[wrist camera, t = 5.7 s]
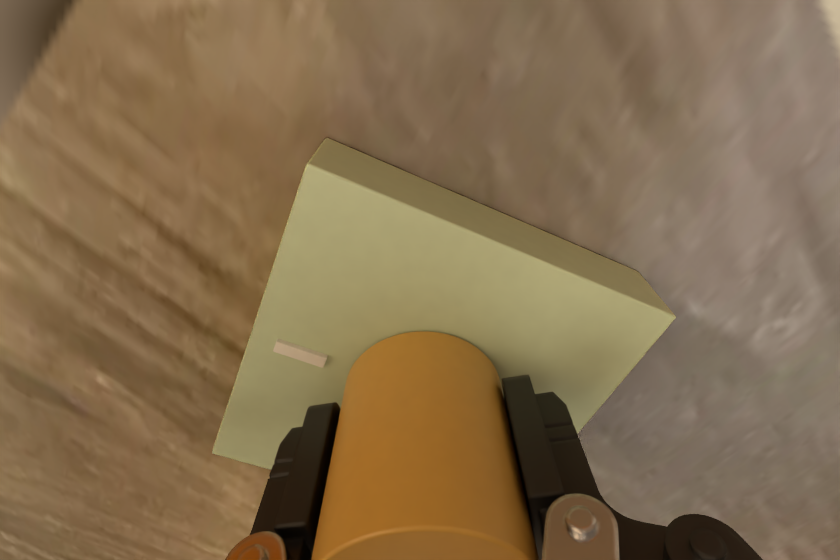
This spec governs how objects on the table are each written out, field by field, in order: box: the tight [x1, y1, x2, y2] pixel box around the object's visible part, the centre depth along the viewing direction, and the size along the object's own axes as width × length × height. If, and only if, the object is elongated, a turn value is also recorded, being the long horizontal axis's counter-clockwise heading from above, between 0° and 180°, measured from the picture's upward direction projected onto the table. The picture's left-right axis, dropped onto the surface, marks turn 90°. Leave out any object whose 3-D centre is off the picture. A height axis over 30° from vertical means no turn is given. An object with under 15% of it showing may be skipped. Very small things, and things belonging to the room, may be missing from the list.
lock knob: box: [311, 331, 539, 560], centre depth 11 cm, size 4×4×6 cm
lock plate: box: [212, 138, 676, 470], centre depth 15 cm, size 10×10×3 cm
